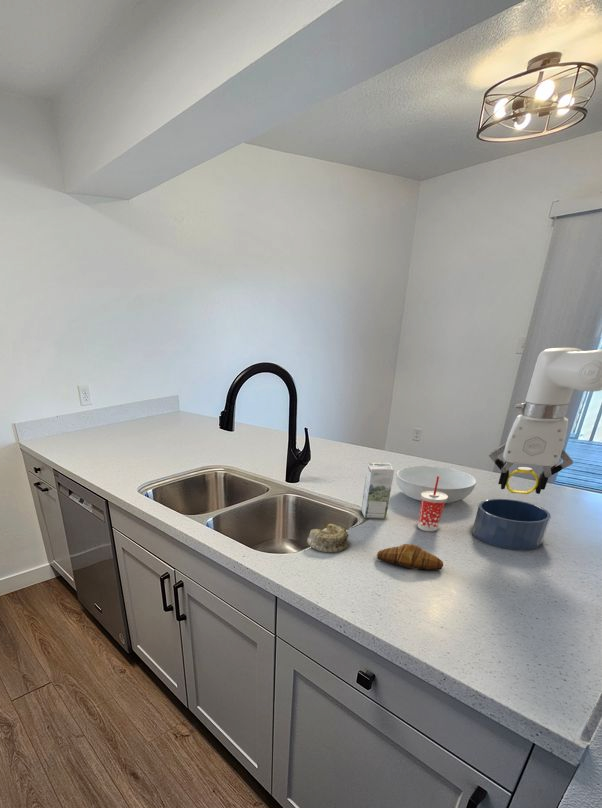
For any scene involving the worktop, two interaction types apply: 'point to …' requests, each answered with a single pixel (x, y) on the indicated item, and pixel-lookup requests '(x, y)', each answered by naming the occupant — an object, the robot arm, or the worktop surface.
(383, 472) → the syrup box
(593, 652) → the worktop surface
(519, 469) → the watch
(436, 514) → the beverage cup
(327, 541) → the beige coiled mound
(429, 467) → the serving bowl
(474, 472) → the worktop surface
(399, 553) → the croissant
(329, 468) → the worktop surface
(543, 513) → the blue pet bowl
